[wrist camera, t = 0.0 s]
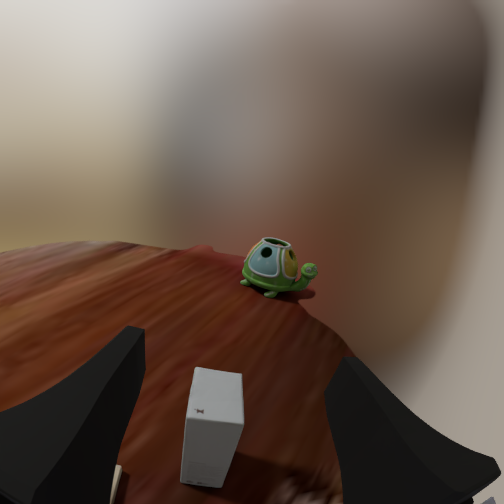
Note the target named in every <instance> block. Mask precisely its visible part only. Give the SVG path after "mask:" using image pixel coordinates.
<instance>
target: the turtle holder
mask: <svg viewBox="0 0 504 504" xmlns="http://www.w3.org/2000/svg"><path fill="white" fill-rule="evenodd" d="M276 244H281V245H283V246H278V245H276ZM244 263H245V264H244V268H243V271H242V274H243V276H244V277H245V278H246V279H245V280H242V281H241V282H240V283H241V284H242V285H245V286H250V285H251V283H252V284H254V285H256V286H259V287H261V288H264V289H268V290H269V291H267V292H265V293H264V296H265V297H268V298H273V297H275V296H276V295H277V293H278V292H284V291H297V292H298V291H301V290H304V289H305V288H306V287H307V286H308V285H309V283H310V282H311V280H312V279H313V278H314V277H315V276H316V275H317V273H318V272H317V266H316V265H315V264H312V263H306V264H305V265H304V266H303V267H302V269H301V274H302V275H301V278H300V279H299V280H298V281H297V282H295V279H296V278H297V274H298V273H297V270H298V263H297V258H296V255H295V253H294V251H293V249H292V247H291V245H290V244H289V243H287V242H285V241H282V240H279V239H276V238H263V239H262V240H261V241H260V242H258V243H257V244H256V245H254V246H253V247H252V248H251V250H250V251H249V253H248V255H247V257H246V260H245V261H244Z"/></svg>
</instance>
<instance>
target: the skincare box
mask: <svg viewBox="0 0 504 504" xmlns="http://www.w3.org/2000/svg"><path fill="white" fill-rule="evenodd" d="M243 426H244V404H243V389H242V374H237V373H230V372H223V371H217V370H211V369H205V368H200V367H196V368H195V371H194V376H193V382H192V386H191V390H190V397H189V402H188V409H187V415H186V422H185V431H184V443H183V455H182V466H181V478H180V482H181V483H186V484H193V485H200V486H208V487H216V488H221V487H222V486H223V483H224V480H225V477H226V474H227V472H228V469H229V466H230V464H231V461H232V458H233V455H234V452H235V450H236V447H237V444H238V441H239V438H240V435H241V432H242V429H243Z"/></svg>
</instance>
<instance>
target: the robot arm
mask: <svg viewBox="0 0 504 504" xmlns="http://www.w3.org/2000/svg"><path fill="white" fill-rule="evenodd" d="M145 370H146V367H145V329H141V328H137V327H132V326H127V327H125V328H124V329H123V330H122V331H121V332H120V333H119V334H118V335H117V336H116V337H114V338H113V339H112V340H111V341H110V342H109V343H108V344H107V345H106V346H105V347H104V348H102V349H101V350H100V351H99V352H98V353H97V354H95V355H94V356H93V357H92V358H91V359H90V360H88V361H87V362H86V363H85V364H83V365H82V366H81V367H80V368H78V369H77V370H76V371H74V372H73V373H72V374H71V375H69V376H68V377H66V378H65V379H63V380H62V381H61V382H59V383H58V384H56V385H54V386H53V387H51V388H50V389H48V390H46V391H45V392H43V393H41V394H39V395H37V396H36V397H34V398H32V399H30V400H28V401H26V402H24V403H22V404H19V405H17V406H15V407H12V408H10V409H7V410H5V411H2V412H0V504H110V498H111V491H112V484H113V478H114V473H115V468H116V463H117V458H118V453H119V449H120V446H121V442H122V439H123V437H124V434H125V431H126V428H127V426H128V423H129V420H130V417H131V415H132V412H133V409H134V407H135V404H136V401H137V399H138V396H139V393H140V390H141V386H142V382H143V378H144V374H145ZM324 395H325V404H326V412H327V417H328V421H329V425H330V429H331V433H332V437H333V440H334V444H335V448H336V452H337V456H338V460H339V464H340V470H341V478H342V487H343V503H344V504H473V502H474V501H473V498H472V497H473V496H474V495H476V494H477V493H478V492H480V491H481V490H483V489H484V488H485V487H487V486H488V485H489V484H491V483H492V482H493V481H495V480H496V479H497V478H498V477H499V476H500V475H501V471H500V469H499V467H498V465H497V463H496V461H495V459H494V458H492V457H489V456H486V455H484V454H481V453H478V452H475V451H473V450H470V449H468V448H466V447H464V446H462V445H460V444H458V443H456V442H454V441H452V440H450V439H449V438H447V437H445V436H444V435H442V434H441V433H439V432H438V431H436V430H435V429H433V428H432V427H430V426H429V425H428V424H427V423H425V422H424V421H423V420H421V419H420V418H419V417H418V416H416V415H415V414H414V413H413V412H412V411H410V409H408V408H407V407H406V406H405V405H404V404H403V403H402V402H401V401H400V400H399V399H398V398H397V397H396V396H395V395H394V394H393V393H391V391H390V390H389V389H388V388H387V387H386V386H385V385H384V384H383V383H382V382H381V381H380V380H379V379H378V378H377V377H376V376H375V375H374V374H373V373H372V372H371V371H370V369H369V368H368V367H367V366H365V364H364V363H363V362H362V361H360V360H359V359H358V358H357V357H343V358H342V360H341V362H340V364H339V366H338V368H337V370H336V372H335V373H334V375H333V377H332V379H331V381H330V382H329V384H328V386H327V388H326V390H325V391H324ZM482 504H496V503H495V500H494V498H493V497H490V498H489V499H488V500H486V501H485V502H483V503H482Z"/></svg>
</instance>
